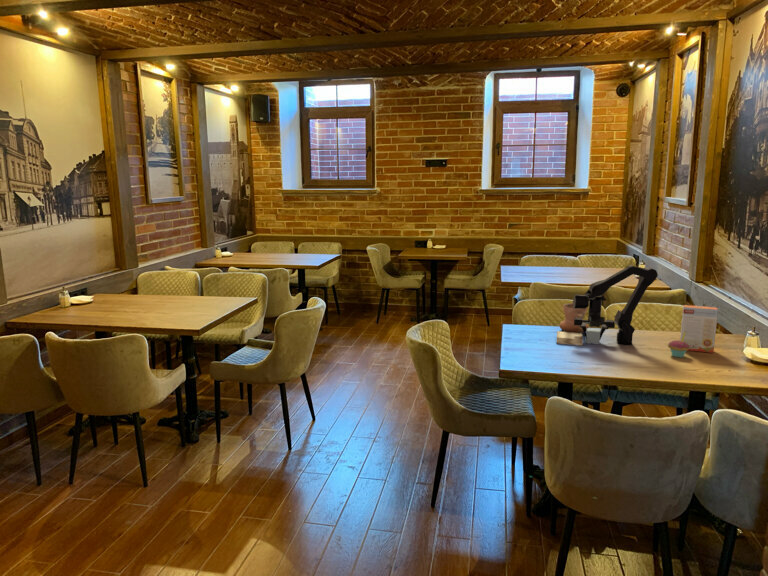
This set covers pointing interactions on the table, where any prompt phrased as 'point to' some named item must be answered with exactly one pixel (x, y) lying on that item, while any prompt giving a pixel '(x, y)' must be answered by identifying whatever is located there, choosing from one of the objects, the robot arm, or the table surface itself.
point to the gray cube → (593, 336)
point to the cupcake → (678, 347)
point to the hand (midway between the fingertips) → (592, 339)
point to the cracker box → (699, 327)
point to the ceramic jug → (572, 319)
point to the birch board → (569, 338)
